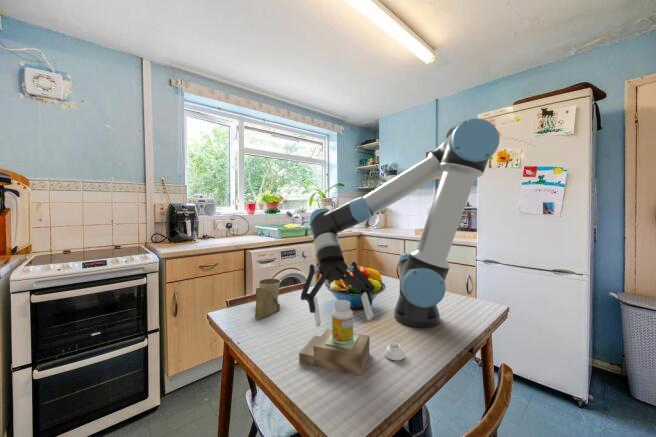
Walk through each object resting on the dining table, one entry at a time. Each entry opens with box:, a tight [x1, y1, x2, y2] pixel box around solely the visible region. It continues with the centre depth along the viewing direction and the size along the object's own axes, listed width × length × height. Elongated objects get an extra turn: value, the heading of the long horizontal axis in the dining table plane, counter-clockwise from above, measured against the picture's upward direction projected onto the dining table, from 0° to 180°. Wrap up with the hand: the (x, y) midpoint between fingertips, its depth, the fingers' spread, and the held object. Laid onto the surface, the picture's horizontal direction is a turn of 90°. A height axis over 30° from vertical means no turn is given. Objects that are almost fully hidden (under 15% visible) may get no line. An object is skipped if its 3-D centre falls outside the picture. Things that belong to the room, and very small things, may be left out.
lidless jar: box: [384, 342, 405, 361], centre depth 72 cm, size 5×3×5 cm
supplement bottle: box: [331, 299, 354, 344], centre depth 70 cm, size 5×5×10 cm
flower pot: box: [257, 278, 282, 301], centre depth 114 cm, size 9×9×9 cm
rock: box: [254, 287, 281, 321], centre depth 101 cm, size 11×9×10 cm
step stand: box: [298, 328, 370, 377], centre depth 71 cm, size 16×10×5 cm, turn 70°
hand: (345, 321), depth 68 cm, fingers open, 13 cm apart
